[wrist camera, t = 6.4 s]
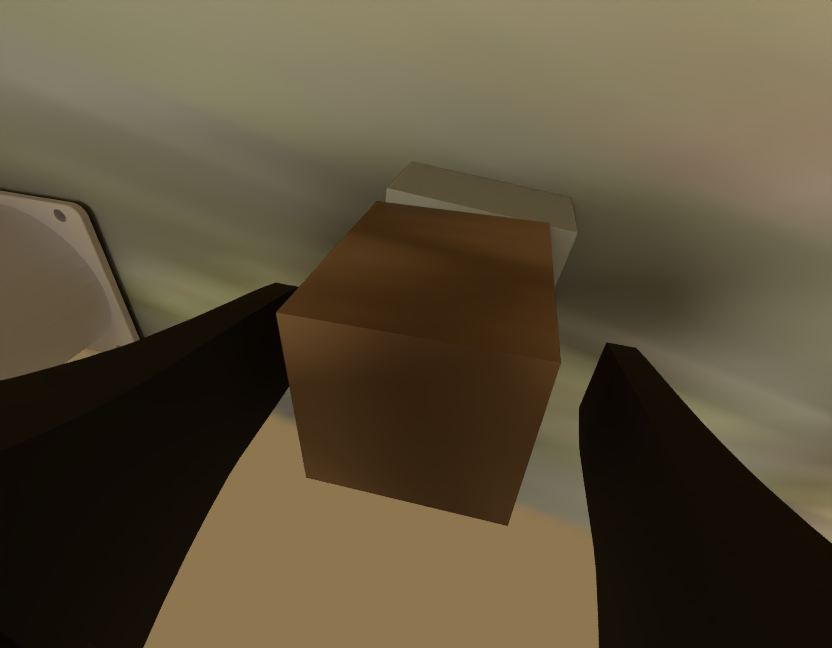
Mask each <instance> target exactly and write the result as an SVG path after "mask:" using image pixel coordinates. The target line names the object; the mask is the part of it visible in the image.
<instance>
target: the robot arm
mask: <svg viewBox="0 0 832 648" xmlns="http://www.w3.org/2000/svg"><path fill="white" fill-rule="evenodd" d="M298 288H299V287H296V286H291V285H285V284H280V283H274V284H271V285H268V286H265V287H263V288H260V289H258V290H255V291H253V292H251V293H248V294H246V295H244V296H242V297H239V298H237V299H235V300H233V301H231V302H228V303H226V304H224V305H222V306H219V307H217V308H215V309H213V310H210V311H208V312H206V313H204V314H201V315H199V316H197V317H195V318H192V319H190V320H187V321H185V322H182V323H180V324H178V325H175V326H173V327H170V328H168V329H165V330H163V331H160V332H158V333H155V334H153V335H151V336H148V337H145V338H143V339H140V338H139V336H138V334H137V331H136V329H135V326H134V324H133V322H132V319H131V317H130V314H129V312H128V310H127V307H126V305H125V302H124V300H123V298H122V295H121V293H120V290H119V288H118V286H117V283H116V281H115V278H114V276H113V274H112V271H111V269H110V266H109V264H108V262H107V259H106V257H105V254H104V252H103V250H102V247H101V245H100V242H99V240H98V238H97V235H96V233H95V230H94V228H93V226H92V223H91V221H90V218H89V216H88V214H87V212H86V211H85V210H84V209H83V208H82V207H81V206H79V205H78V204H76V203H73V202H67V201H61V200H55V199H48V198H42V197H36V196H30V195H24V194H18V193H12V192H6V191H0V648H143V647H144V645H145V643H146V640H147V638H148V636H149V634H150V631H151V629H152V627H153V625H154V622H155V620H156V618H157V616H158V613H159V611H160V609H161V606H162V604H163V602H164V600H165V598H166V596H167V594H168V592H169V589H170V587H171V586H172V584H173V581H174V579H175V577H176V575H177V573H178V571H179V569H180V567H181V565H182V562H183V561H184V558H185V556H186V554H187V552H188V551H189V549H190V547H191V545H192V543H193V541H194V539H195V537H196V535H197V533H198V531H199V529H200V527H201V525H202V523H203V521H204V520H205V518H206V516H207V514H208V512H209V510H210V508H211V506H212V505H213V503H214V501H215V499H216V497H217V496H218V494H219V492H220V490H221V488H222V487H223V485H224V483H225V481H226V479H227V478H228V476H229V474H230V473H231V471H232V469H233V468H234V466H235V465H236V463H237V462H238V460H239V458H240V457H241V455H242V454H243V453H244V451H245V449H246V448H247V447H248V445H249V444H250V442H251V441H252V440H253V438H254V437H255V435H256V434H257V432H258V431H259V429H260V428H261V427H262V425H263V424H264V422H265V421H266V420H267V418H268V417H269V415H270V414H271V412H272V411H273V409H274V408H275V407H276V405H277V404H278V402H279V401H280V399H281V398H282V396H283V395H284V393H285V392H286V390H287V389H288V387H289V381H288V376H287V370H286V365H285V359H284V354H283V348H282V343H281V338H280V332H279V327H278V321H277V316H276V312H277V311H278V310H279V309H280V307H281V306H282V305H283V304H284V303H285V302H286V301H287V300H288V299H289V298H290V296H291V295H292V294H293V293H294V292H295V291H296V290H297V289H298ZM85 348H89V349H94V350H98V351H103V352H102V353H99V354H96V355H93V356H90V357H87V358H83V359H80V360H77V361H73V362H70V363H66V364H64V363H65V362H67V361H68V360H70V359H71V358H72V357H74V356H75V355H77V354H78V353H79V352H81V351H82V350H84V349H85ZM579 449H580V457H581V464H582V471H583V478H584V485H585V492H586V499H587V506H588V512H589V519H590V526H591V533H592V539H593V546H594V556H595V565H596V580H597V602H598V626H599V627H598V628H599V648H832V543H831V542H829V541H828V540H827V539H826V538H825V537H823V536H822V535H821V534H820V533H819V532H817V531H816V530H815V529H814V528H813V527H811V526H810V525H809V524H808V523H807V522H806V521H804V520H803V519H802V518H801V517H800V516H799V515H798V514H797V513H795V512H794V511H793V510H792V509H791V508H790V507H789V506H788V505H786V504H785V503H784V502H783V501H782V500H781V499H780V498H779V497H777V496H776V495H775V494H774V493H773V492H772V491H771V490H770V489H768V488H767V487H766V486H765V485H764V484H763V483H762V482H761V481H760V480H759V479H758V478H757V477H756V476H755V475H753V474H752V473H751V472H750V471H749V470H748V469H747V468H746V467H745V466H744V465H743V464H742V463H741V462H740V461H739V460H738V459H737V458H736V457H735V456H734V455H733V454H732V453H731V452H730V451H729V450H728V449H727V448H726V447H725V446H724V445H723V444H722V443H721V442H720V441H719V440H718V439H717V437H716V436H715V435H714V434H713V433H712V432H711V431H710V430H709V429H708V428H707V427H706V426H705V425H704V424H703V423H702V422H701V420H700V419H699V418H698V417H697V416H696V415H695V414H694V413H693V412H692V411H691V409H690V408H689V407H688V406H687V405H686V404H685V403H684V402H683V400H682V399H681V398H680V397H679V396H678V395H677V394H676V392H675V391H674V390H673V389H672V388H671V387H670V386H669V384H668V383H667V382H666V381H665V380H664V379H663V377H662V376H661V375H660V374H659V373H658V372H657V371H656V369H655V368H654V367H653V366H652V365H651V364H650V362H649V361H648V360H647V359H646V358H645V357H644V356H643V355H642V354H641V352H640V351H639V350H638V349H637V348H634V347H629V346H623V345H618V344H612V343H607V342H606V345H605V347H604V350H603V352H602V354H601V357H600V359H599V361H598V364H597V366H596V369H595V371H594V373H593V376H592V378H591V381H590V383H589V385H588V388H587V390H586V392H585V395H584V397H583V400H582V402H581V404H580V407H579Z"/></svg>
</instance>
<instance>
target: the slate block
mask: <svg viewBox="0 0 832 648" xmlns="http://www.w3.org/2000/svg"><path fill="white" fill-rule="evenodd" d="M385 202H388V203H396V204H404V205H412V206H420V207H428V208H436V209H444V210H452V211H460V212H468V213H476V214H484V215H492V216H500V217H508V218H516V219H524V220H532V221H540V222H548V223H550V235H551V247H552V259H553V272H554V284H555V287H556V285H557V282H558V280H559V277H560V275H561V273H562V270H563V268H564V265H565V263H566V260H567V258H568V256H569V253H570V251H571V248H572V246H573V244H574V241H575V239H576V236H577V234H578V230H577V226H576V221H575V216H574V211H573V206H572V201H571V198H570V197H566V196H561V195H557V194H553V193H548V192H544V191H539V190H535V189H531V188H526V187H522V186H517V185H513V184H509V183H504V182H500V181H495V180H491V179H486V178H482V177H478V176H473V175H469V174H464V173H460V172H456V171H451V170H447V169H442V168H438V167H433V166H429V165H425V164H420V163H416V162H411V163H410V164H409V165H408V166H407V167H406V168H405V169H404V170H403V171H402V172H401V173H400V174H399V175H398V176H397V178H396V179H395V180H394V181H393V182H392V183H391V184H390V185H389V186H388V187H387V190H386V199H385Z"/></svg>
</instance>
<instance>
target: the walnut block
mask: <svg viewBox="0 0 832 648" xmlns="http://www.w3.org/2000/svg"><path fill="white" fill-rule="evenodd" d="M276 316H277V321H278V327H279V332H280V338H281V343H282V348H283V354H284V359H285V365H286V370H287V376H288V381H289V386H290V392H291V397H292V403H293V408H294V414H295V419H296V424H297V430H298V435H299V440H300V445H301V451H302V457H303V462H304V468H305V473H306V478H311V479H315V480H319V481H323V482H327V483H331V484H336V485H340V486H344V487H348V488H352V489H357V490H361V491H365V492H369V493H373V494H377V495H381V496H386V497H390V498H394V499H398V500H403V501H406V502H411V503H415V504H419V505H423V506H427V507H432V508H436V509H440V510H444V511H448V512H452V513H456V514H461V515H465V516H469V517H473V518H477V519H481V520H486V521H490V522H494V523H498V524H503V525H506V526H508V523H509V520H510V517H511V513H512V511H513V508H514V505H515V502H516V498H517V495H518V492H519V489H520V486H521V483H522V480H523V477H524V474H525V471H526V468H527V465H528V462H529V459H530V456H531V453H532V449H533V446H534V443H535V440H536V437H537V434H538V431H539V428H540V425H541V422H542V419H543V416H544V413H545V410H546V407H547V404H548V400H549V397H550V394H551V391H552V388H553V385H554V382H555V379H556V376H557V373H558V370H559V367H560V364H561V358H560V346H559V334H558V321H557V309H556V297H555V284H554V272H553V259H552V247H551V235H550V223H548V222H540V221H532V220H524V219H516V218H508V217H500V216H492V215H484V214H476V213H468V212H460V211H452V210H444V209H436V208H428V207H420V206H412V205H404V204H396V203H388V202H380V201H377V202H376V203H375V204H374V205H373V206H372V207H371V208H370V209H369V211H368V212H367V213H366V214H365V215H364V216H363V217H362V218H361V219H360V220H359V222H358V223H357V224H356V225H355V226H354V227H353V228H352V229H351V230H350V231H349V233H348V234H347V235H346V236H345V237H344V238H343V239H342V240H341V241H340V242H339V244H338V245H337V246H336V247H335V248H334V249H333V250H332V251H331V252H330V253H329V255H328V256H327V257H326V258H325V259H324V260H323V261H322V262H321V263H320V265H319V266H318V267H317V268H316V269H315V270H314V271H313V272H312V273H311V274H310V276H309V277H308V278H307V279H306V280H305V281H304V282H303V283H302V284H301V285H300V287H299V288H298V289H297V290H296V291H295V292H294V293H293V294H292V295H291V296H290V298H289V299H288V300H287V301H286V302H285V303H284V304H283V305H282V306H281V307H280V309H279V310H278V311H277V312H276Z"/></svg>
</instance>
